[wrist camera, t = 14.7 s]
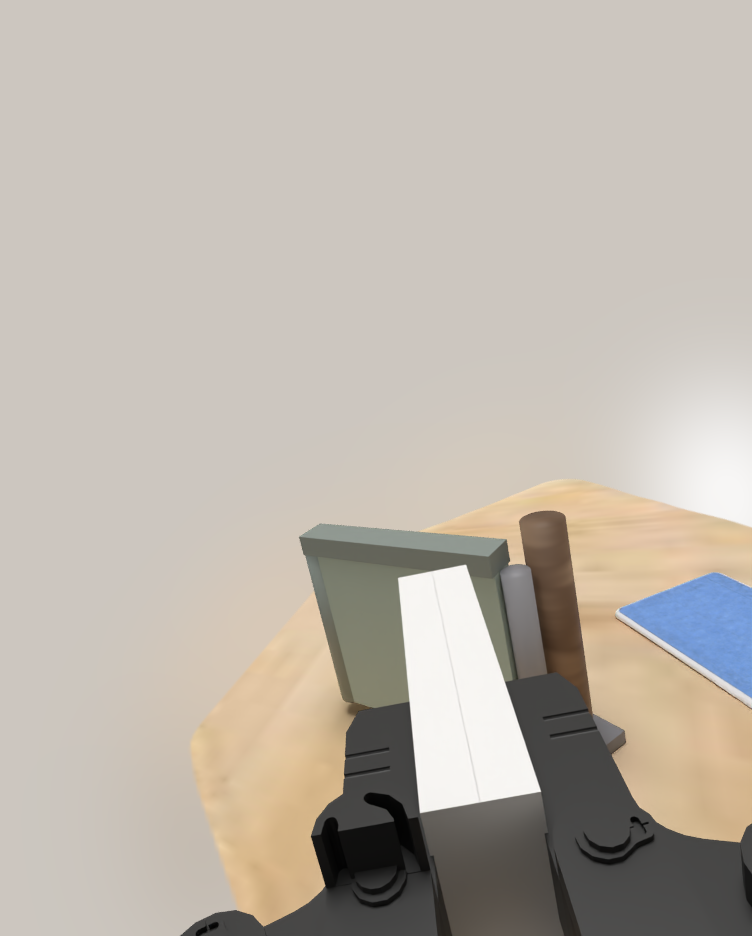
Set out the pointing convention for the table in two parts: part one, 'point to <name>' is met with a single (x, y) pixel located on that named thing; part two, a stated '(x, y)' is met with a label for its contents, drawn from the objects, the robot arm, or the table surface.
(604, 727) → the hinge post
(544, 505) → the table surface
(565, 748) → the robot arm
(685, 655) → the tablet computer
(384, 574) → the panel
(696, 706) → the table surface
